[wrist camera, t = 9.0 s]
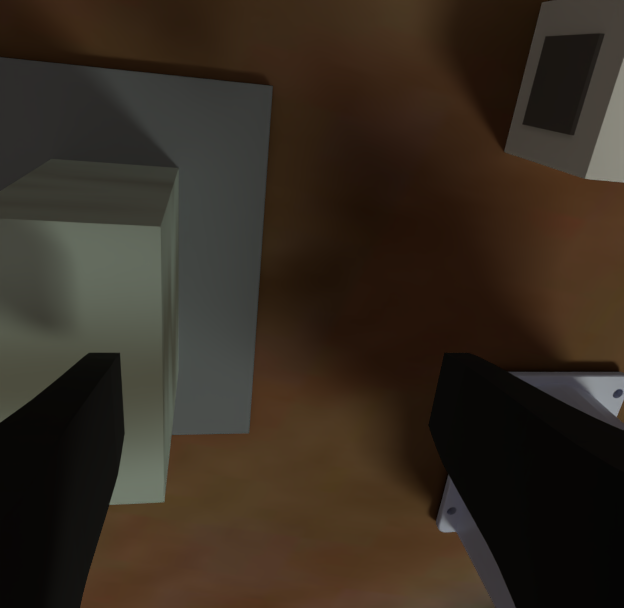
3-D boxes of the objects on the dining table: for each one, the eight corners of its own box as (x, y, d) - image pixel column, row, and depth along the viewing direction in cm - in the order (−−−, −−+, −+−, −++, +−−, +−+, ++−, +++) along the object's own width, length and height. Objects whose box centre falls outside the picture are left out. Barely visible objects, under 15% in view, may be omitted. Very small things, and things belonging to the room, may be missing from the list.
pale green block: (178, 371, 21) (164, 502, 15) (71, 371, 20) (9, 509, 14) (178, 167, 18) (160, 226, 12) (51, 158, 17) (-41, 216, 11)
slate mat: (248, 427, 23) (248, 433, 23) (-1, 432, 21) (-4, 438, 21) (271, 85, 18) (272, 86, 17) (-63, 50, 16) (-70, 50, 15)
